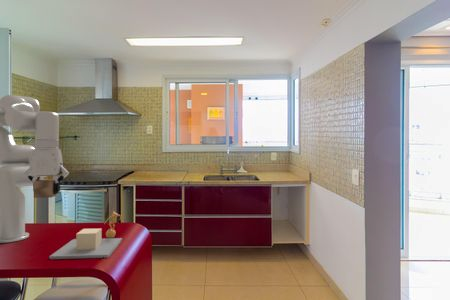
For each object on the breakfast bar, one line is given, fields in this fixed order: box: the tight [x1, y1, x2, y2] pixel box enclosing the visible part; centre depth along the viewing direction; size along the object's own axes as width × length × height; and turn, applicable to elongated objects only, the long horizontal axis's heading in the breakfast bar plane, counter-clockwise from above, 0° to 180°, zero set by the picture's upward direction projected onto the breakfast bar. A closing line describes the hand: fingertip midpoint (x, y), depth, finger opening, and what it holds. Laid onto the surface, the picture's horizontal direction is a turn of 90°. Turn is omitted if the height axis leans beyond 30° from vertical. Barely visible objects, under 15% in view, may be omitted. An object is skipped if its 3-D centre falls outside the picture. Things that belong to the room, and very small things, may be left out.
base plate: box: [49, 227, 123, 260], centre depth 114 cm, size 20×20×7 cm
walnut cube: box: [33, 178, 60, 199], centre depth 109 cm, size 6×6×6 cm
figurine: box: [104, 210, 122, 238], centre depth 127 cm, size 8×6×12 cm
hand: (46, 193), depth 109 cm, fingers closed on walnut cube, 6 cm apart
